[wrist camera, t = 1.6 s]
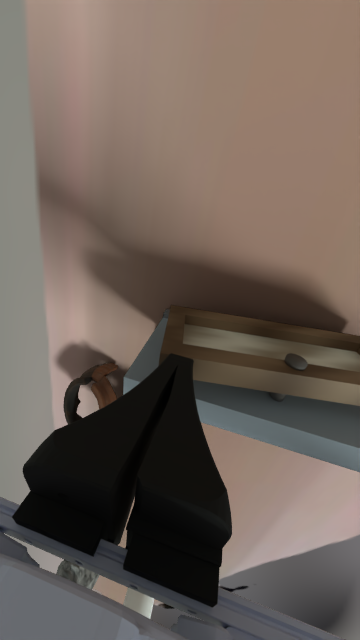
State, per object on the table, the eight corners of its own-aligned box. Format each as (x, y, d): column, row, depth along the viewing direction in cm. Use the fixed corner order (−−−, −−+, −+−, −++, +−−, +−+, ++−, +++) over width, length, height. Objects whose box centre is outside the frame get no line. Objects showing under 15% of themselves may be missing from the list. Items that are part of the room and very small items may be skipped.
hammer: (74, 514, 70) (80, 503, 50) (105, 519, 71) (123, 510, 52) (49, 586, 59) (45, 608, 39) (86, 590, 60) (100, 613, 41)
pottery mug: (108, 411, 34) (56, 437, 27) (112, 352, 33) (60, 361, 26) (173, 439, 28) (129, 481, 21) (179, 367, 27) (136, 385, 20)
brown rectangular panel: (368, 334, 17) (443, 394, 12) (347, 364, 19) (404, 428, 14) (171, 301, 17) (160, 349, 12) (166, 334, 18) (155, 389, 13)
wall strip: (378, 362, 19) (480, 477, 11) (348, 399, 22) (413, 515, 14) (166, 308, 22) (123, 371, 14) (161, 347, 24) (122, 419, 16)
